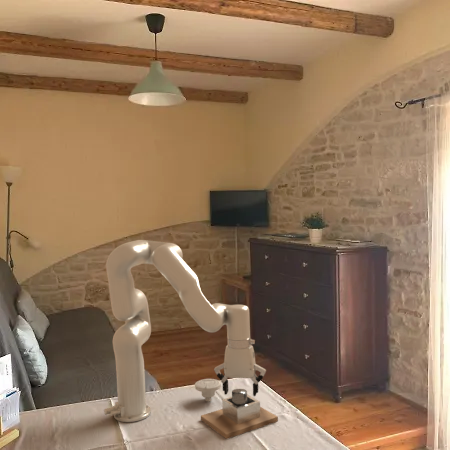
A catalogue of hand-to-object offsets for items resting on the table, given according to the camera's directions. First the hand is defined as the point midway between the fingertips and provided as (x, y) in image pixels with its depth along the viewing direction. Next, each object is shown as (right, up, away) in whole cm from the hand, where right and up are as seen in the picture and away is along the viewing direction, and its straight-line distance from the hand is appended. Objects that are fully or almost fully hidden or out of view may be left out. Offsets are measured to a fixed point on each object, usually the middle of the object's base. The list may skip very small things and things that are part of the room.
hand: (240, 393), depth 160 cm
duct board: (-1, -9, 0) cm, 9 cm away
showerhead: (-11, -9, +17) cm, 22 cm away
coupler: (0, -7, 0) cm, 7 cm away
